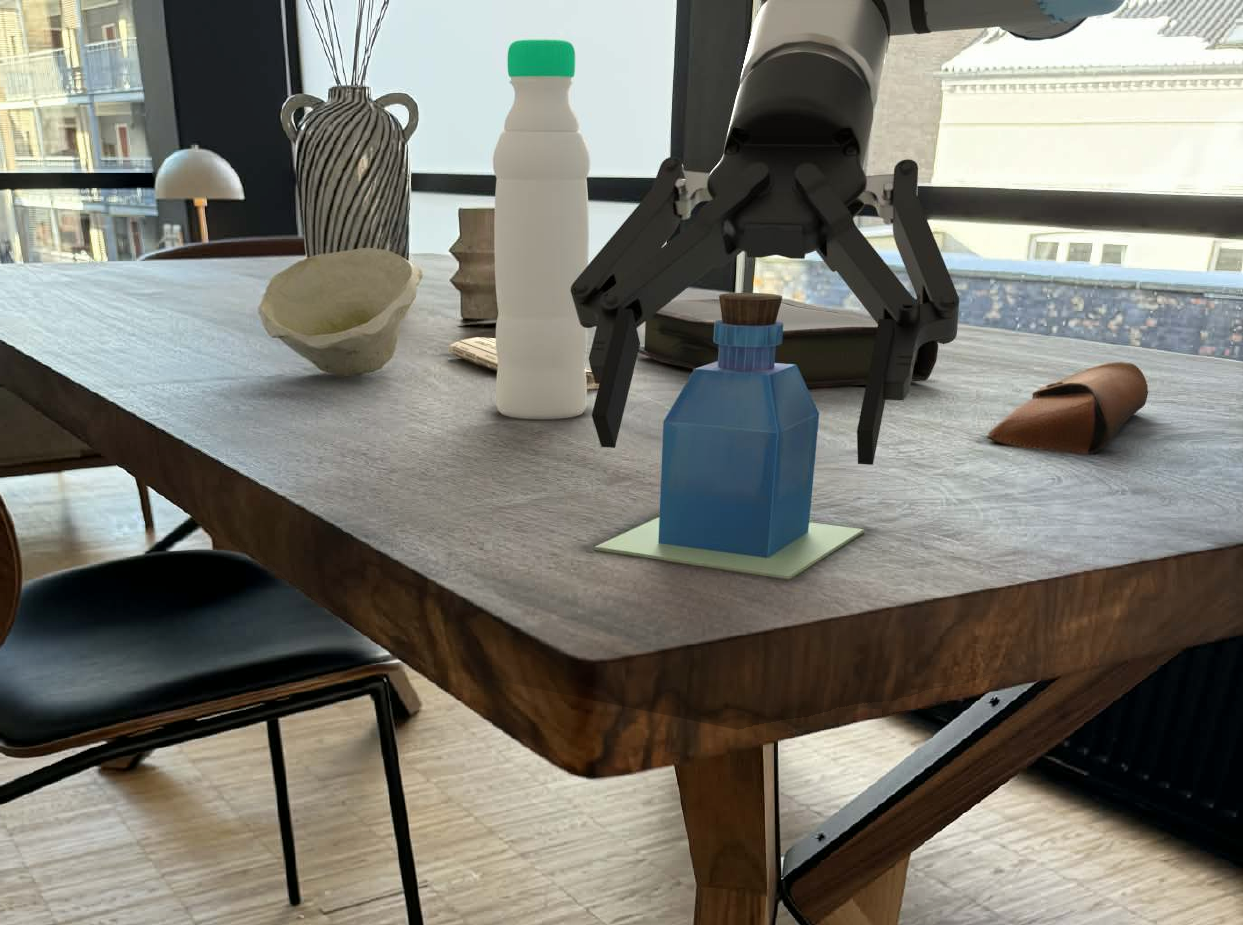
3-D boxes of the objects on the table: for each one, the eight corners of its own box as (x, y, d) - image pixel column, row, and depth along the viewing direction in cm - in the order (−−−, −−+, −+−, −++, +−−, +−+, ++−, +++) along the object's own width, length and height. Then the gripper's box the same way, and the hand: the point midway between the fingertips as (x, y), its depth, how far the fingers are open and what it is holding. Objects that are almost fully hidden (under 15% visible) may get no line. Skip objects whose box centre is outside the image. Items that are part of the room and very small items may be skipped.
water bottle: (515, 425, 108) (512, 36, 96) (483, 410, 114) (477, 41, 102) (600, 419, 110) (608, 39, 98) (565, 405, 116) (568, 43, 104)
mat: (863, 536, 79) (864, 529, 79) (789, 584, 71) (789, 576, 71) (683, 512, 84) (684, 505, 84) (594, 554, 76) (594, 546, 76)
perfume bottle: (767, 558, 74) (787, 305, 68) (658, 543, 76) (668, 298, 70) (808, 532, 78) (830, 294, 73) (703, 518, 81) (716, 287, 75)
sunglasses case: (1033, 401, 115) (1091, 327, 111) (1103, 455, 114) (1163, 383, 110) (981, 439, 101) (1045, 356, 97) (1060, 500, 101) (1127, 420, 96)
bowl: (232, 379, 127) (219, 255, 122) (314, 359, 138) (305, 244, 134) (380, 390, 122) (374, 261, 117) (453, 368, 133) (449, 250, 128)
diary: (787, 348, 147) (792, 295, 144) (934, 383, 127) (942, 322, 124) (623, 357, 141) (625, 301, 138) (750, 396, 120) (755, 331, 118)
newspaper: (449, 358, 139) (448, 338, 138) (516, 354, 142) (516, 335, 141) (540, 395, 120) (540, 372, 119) (617, 390, 123) (617, 368, 122)
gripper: (1036, 159, 78) (978, 499, 73) (599, 156, 85) (517, 467, 80) (1051, 40, 71) (988, 407, 66) (573, 46, 78) (482, 380, 73)
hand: (730, 440), depth 73 cm, fingers open, 13 cm apart
